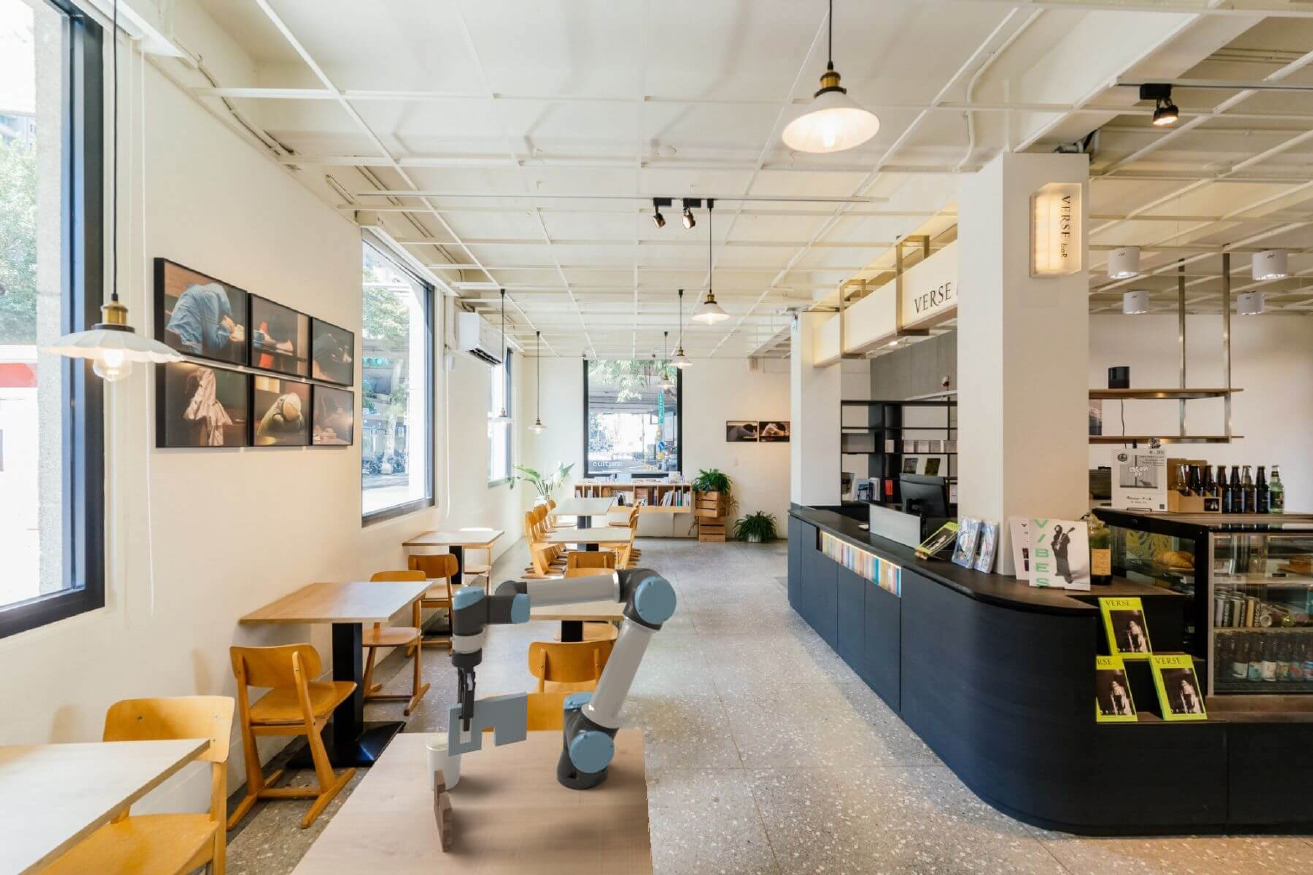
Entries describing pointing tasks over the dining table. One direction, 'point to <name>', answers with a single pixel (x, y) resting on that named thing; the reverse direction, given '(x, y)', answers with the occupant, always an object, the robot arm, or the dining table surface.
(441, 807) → the walnut rail
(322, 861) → the dining table surface
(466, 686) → the robot arm
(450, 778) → the candle holder
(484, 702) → the slate plate
